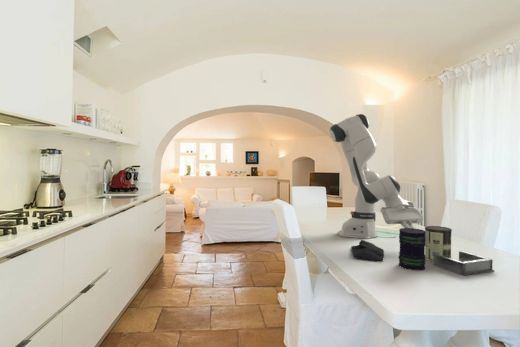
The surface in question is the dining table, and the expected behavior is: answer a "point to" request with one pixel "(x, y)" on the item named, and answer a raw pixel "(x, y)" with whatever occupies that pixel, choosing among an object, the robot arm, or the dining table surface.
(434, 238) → the coffee can
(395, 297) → the dining table surface
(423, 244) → the storage jar
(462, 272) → the receiver bay
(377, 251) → the dark slate chunk
